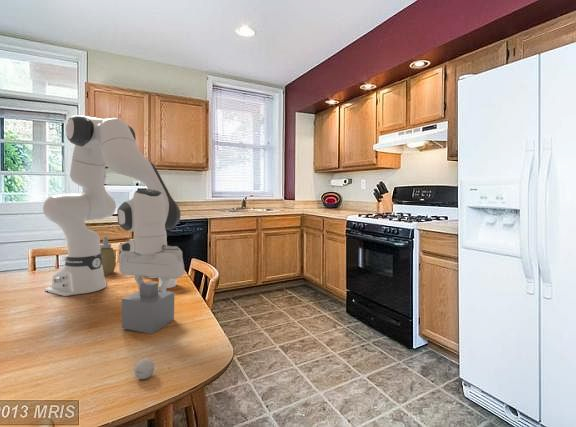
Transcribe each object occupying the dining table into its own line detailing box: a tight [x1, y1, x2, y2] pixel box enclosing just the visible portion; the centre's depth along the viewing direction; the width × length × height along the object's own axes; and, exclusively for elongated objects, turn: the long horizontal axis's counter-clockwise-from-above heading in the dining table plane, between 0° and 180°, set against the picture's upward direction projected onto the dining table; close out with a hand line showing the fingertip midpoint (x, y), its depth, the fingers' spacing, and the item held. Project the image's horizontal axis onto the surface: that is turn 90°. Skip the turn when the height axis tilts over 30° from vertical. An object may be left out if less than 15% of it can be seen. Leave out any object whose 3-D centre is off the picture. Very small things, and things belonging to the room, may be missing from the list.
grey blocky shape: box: [121, 281, 175, 335], centre depth 93 cm, size 10×10×12 cm
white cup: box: [158, 278, 178, 289], centre depth 131 cm, size 8×8×10 cm
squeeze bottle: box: [100, 235, 117, 275], centre depth 151 cm, size 8×8×18 cm
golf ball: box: [133, 358, 155, 380], centre depth 67 cm, size 4×4×4 cm
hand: (152, 290), depth 93 cm, fingers open, 6 cm apart
